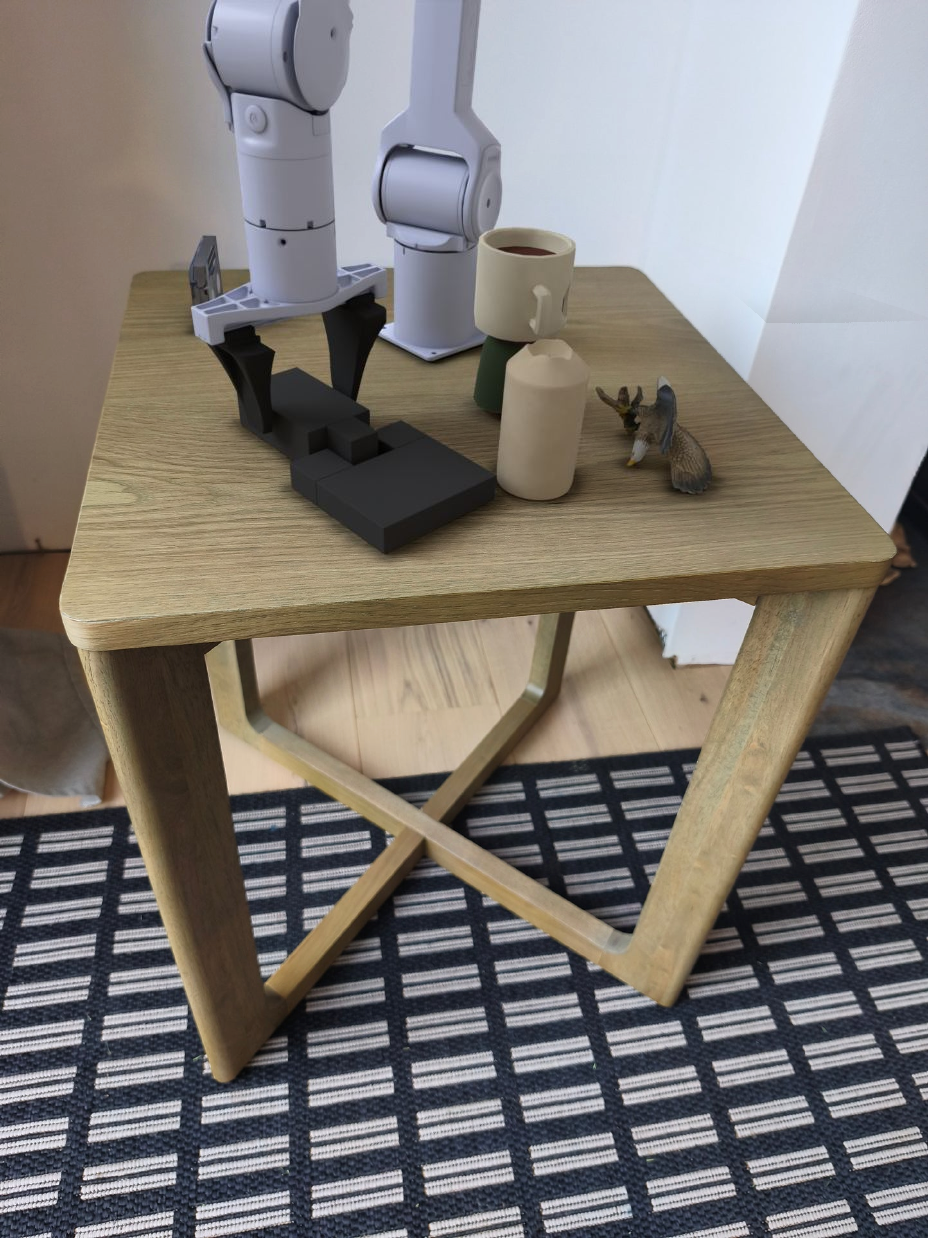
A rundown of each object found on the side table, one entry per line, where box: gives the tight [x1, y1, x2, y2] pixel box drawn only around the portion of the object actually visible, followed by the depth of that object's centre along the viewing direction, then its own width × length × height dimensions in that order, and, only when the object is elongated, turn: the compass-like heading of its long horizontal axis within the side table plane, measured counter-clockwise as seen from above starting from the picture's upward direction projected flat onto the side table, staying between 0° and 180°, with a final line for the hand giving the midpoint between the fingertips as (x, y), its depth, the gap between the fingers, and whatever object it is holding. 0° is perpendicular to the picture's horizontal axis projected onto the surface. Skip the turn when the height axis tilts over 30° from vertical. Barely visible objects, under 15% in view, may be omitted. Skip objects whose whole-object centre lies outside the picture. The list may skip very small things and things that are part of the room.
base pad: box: [289, 419, 498, 555], centre depth 59 cm, size 10×10×2 cm
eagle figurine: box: [595, 375, 713, 495], centre depth 63 cm, size 8×7×9 cm
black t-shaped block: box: [236, 366, 378, 466], centre depth 63 cm, size 6×12×3 cm, turn 44°
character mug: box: [472, 226, 577, 414], centre depth 66 cm, size 11×7×13 cm, turn 14°
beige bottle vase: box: [496, 338, 591, 501], centre depth 58 cm, size 6×6×10 cm
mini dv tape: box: [188, 234, 224, 306], centre depth 79 cm, size 8×2×6 cm, turn 6°
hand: (304, 412), depth 63 cm, fingers open, 7 cm apart
